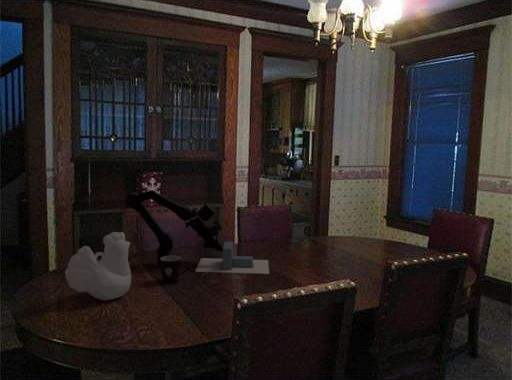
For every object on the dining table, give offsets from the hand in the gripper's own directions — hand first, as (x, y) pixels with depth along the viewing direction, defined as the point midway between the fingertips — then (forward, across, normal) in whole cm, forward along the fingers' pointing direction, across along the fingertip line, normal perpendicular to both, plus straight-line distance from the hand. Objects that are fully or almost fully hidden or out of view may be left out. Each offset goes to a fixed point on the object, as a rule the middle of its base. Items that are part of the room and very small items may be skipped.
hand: (223, 251), depth 204 cm
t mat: (+9, 0, +2) cm, 9 cm away
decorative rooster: (-26, -45, +36) cm, 63 cm away
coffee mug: (-8, -25, +19) cm, 32 cm away
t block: (+10, 0, 0) cm, 10 cm away
